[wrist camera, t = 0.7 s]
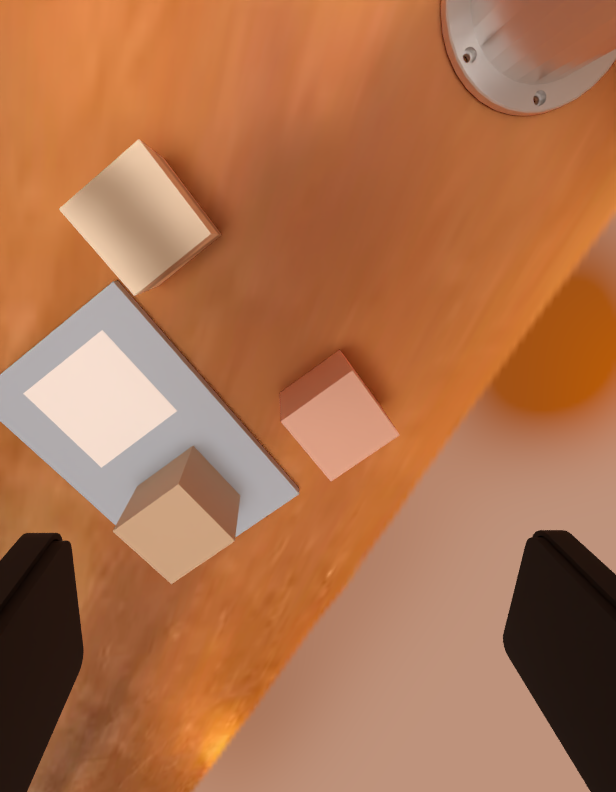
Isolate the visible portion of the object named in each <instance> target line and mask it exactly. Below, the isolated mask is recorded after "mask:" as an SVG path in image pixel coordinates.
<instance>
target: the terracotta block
mask: <svg viewBox="0 0 616 792" xmlns="http://www.w3.org/2000/svg"><path fill="white" fill-rule="evenodd" d="M279 394H280V415H281V422H282V424H283V425H284V426H285V427H286V428H287V430H288V431H289V432H290V433H291V434H292V436H293V437H294V438H295V439H296V440H297V442H298V443H299V444H300V445H301V446H302V448H303V449H304V450H305V451H306V452H307V454H308V455H309V456H310V457H311V458H312V460H313V461H314V462H315V463H316V464H317V465H318V467H319V468H320V469H321V470H322V471H323V473H324V474H325V475H326V476H327V477H328V479H329V480H330V481H332V480H334V479H335V478H337V477H338V476H340V475H341V474H343V473H344V472H346V471H347V470H349V469H350V468H352V467H353V466H355V465H356V464H358V463H359V462H361V461H362V460H364V459H365V458H366V457H368V456H369V455H371V454H372V453H374V452H375V451H377V450H378V449H380V448H381V447H383V446H384V445H386V444H387V443H389V442H390V441H392V440H393V439H395V438H396V437H398V436H399V433H398V432H397V430H396V429H395V427H394V425H393V424H392V422H391V421H390V419H389V418H388V416H387V415H386V413H385V412H384V410H383V409H382V407H381V405H380V404H379V403H378V401H377V400H376V399H375V397H374V396H373V394H372V393H371V392H370V390H369V389H368V388H367V386H366V385H365V383H364V382H363V381H362V379H361V378H360V377H359V375H358V374H357V372H356V371H355V370H354V368H353V367H352V366H351V364H350V363H349V361H348V360H347V359H346V357H345V356H344V355H343V353H342V352H341V350H338V351H337V352H335V353H334V354H333V355H331V356H330V357H329V358H327V359H326V360H324V361H323V362H322V363H320V364H319V365H318V366H316V367H315V368H313V369H312V370H311V371H309V372H308V373H307V374H305V375H304V376H302V377H301V378H300V379H298V380H297V381H296V382H294V383H293V384H291V385H290V386H289V387H287V388H286V389H285V390H283V391H282V392H280V393H279Z"/></svg>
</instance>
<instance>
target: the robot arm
mask: <svg viewBox="0 0 616 792" xmlns="http://www.w3.org/2000/svg"><path fill="white" fill-rule="evenodd" d="M441 21H442V34H443V38H444V42H445V46H446V50H447V54H448V57H449V59H450V61H451V63H452V66H453V68H454V70H455V73H456V74H457V76H458V77H459V79H460V80H461V81H462V83H463V84H464V86H465V87H466V89H467V90H468V91H469V92H470V93H471V94H473V95H474V96H475V97H476V98H477V99H478V100H479V101H480V102H482V103H483V104H485V105H487V106H489V107H490V108H492V109H494V110H496V111H499V112H503V113H506V114H509V115H520V116H530V115H536V114H542V113H546V112H549V111H551V110H554V109H556V108H559V107H562V106H563V105H565V104H567V103H569V102H571V101H573V100H575V99H577V98H578V97H580V96H581V95H582V94H584V93H585V92H586V91H588V90H589V89H590V88H592V87H593V86H594V85H595V84H596V83H597V82H598V81H599V80H600V79H601V78H602V77H603V76H604V75H605V73H606V72H607V71H608V70H609V69H610V67H611V66H612V64H613V63H614V62H615V60H616V0H441ZM463 56H465V57H466V58H467V63H466V62H465V61H464V59H463ZM533 98H534V99H535V103H534V101H533ZM503 643H504V647H505V651H506V653H507V655H508V657H509V658H510V660H511V662H512V663H513V665H514V667H515V668H516V670H517V672H518V673H519V675H520V676H521V678H522V680H523V681H524V683H525V685H526V686H527V688H528V690H529V691H530V693H531V694H532V696H533V698H534V699H535V701H536V703H537V704H538V706H539V708H540V709H541V711H542V712H543V714H544V716H545V717H546V719H547V721H548V722H549V724H550V726H551V727H552V729H553V731H554V732H555V734H556V736H557V737H558V739H559V740H560V742H561V744H562V745H563V747H564V749H565V750H566V752H567V754H568V755H569V757H570V759H571V760H572V762H573V763H574V765H575V767H576V768H577V770H578V772H579V773H580V775H581V776H582V778H583V780H584V781H585V783H586V784H587V786H588V788H589V790H590V791H591V792H616V575H615V574H614V573H613V572H612V571H611V570H610V569H609V568H608V567H607V566H606V565H604V564H603V563H602V562H601V561H600V560H599V559H598V558H597V557H596V556H595V555H594V554H592V553H591V552H590V551H589V550H588V549H587V548H586V547H585V546H584V545H583V544H581V543H580V542H579V541H578V540H577V539H576V538H575V537H574V536H573V535H572V534H570V533H569V532H567V531H563V530H545V531H544V530H540V531H537V532H535V534H534V535H533V537H532V538H529V539H528V540H527V542H526V546H525V549H524V553H523V557H522V561H521V565H520V570H519V574H518V577H517V581H516V585H515V589H514V594H513V598H512V602H511V606H510V610H509V614H508V618H507V622H506V626H505V630H504V634H503ZM82 660H83V641H82V632H81V624H80V615H79V607H78V598H77V590H76V581H75V573H74V564H73V556H72V547H71V544H70V542H69V541H62V537H61V536H60V534H58V533H26V534H23V535H22V536H21V537H20V538H19V539H18V541H17V542H16V543H15V544H14V545H13V546H12V548H11V549H10V550H9V551H8V552H7V553H6V555H5V556H4V557H3V558H2V559H1V561H0V792H27V790H28V788H29V786H30V783H31V781H32V779H33V776H34V774H35V772H36V770H37V767H38V765H39V763H40V760H41V758H42V756H43V753H44V751H45V749H46V747H47V744H48V742H49V740H50V737H51V735H52V733H53V731H54V728H55V726H56V724H57V721H58V719H59V717H60V715H61V712H62V710H63V708H64V705H65V703H66V701H67V699H68V696H69V694H70V692H71V689H72V687H73V685H74V682H75V680H76V678H77V676H78V673H79V671H80V668H81V664H82Z"/></svg>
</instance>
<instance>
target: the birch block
mask: <svg viewBox="0 0 616 792" xmlns="http://www.w3.org/2000/svg"><path fill="white" fill-rule="evenodd" d="M59 210H60V211H61V212H62V213H63V214H64V216H65V217H66V218H67V219H68V220H69V221H70V222H71V224H72V225H73V226H74V227H75V228H76V229H77V230H78V232H79V233H80V234H81V235H82V236H83V237H84V239H85V240H86V241H87V242H88V243H89V244H90V245H91V247H92V248H93V249H94V250H95V251H96V252H97V253H98V255H99V256H100V257H101V258H102V259H103V260H104V262H105V263H106V264H107V265H108V266H109V267H110V268H111V270H112V271H113V272H114V273H115V274H116V275H117V276H118V278H119V279H120V280H121V281H122V282H123V283H124V285H125V286H126V287H127V288H128V289H129V290H130V291H131V293H132V294H133V295H134V296H135V295H138V294H140V293H143V292H145V291H148V290H150V289H153V288H155V287H158V286H159V285H160V284H162V283H163V282H164V281H165V280H167V279H168V278H169V277H170V276H171V275H173V274H174V273H175V272H176V271H178V270H179V269H180V268H181V267H183V266H184V265H185V264H186V263H188V262H189V261H190V260H191V259H193V258H194V257H195V256H196V255H198V254H199V253H200V252H201V251H202V250H204V249H205V248H206V247H207V246H209V245H210V244H211V243H212V242H214V241H215V240H216V239H217V238H219V237H220V236H221V235H222V234H221V233H220V232H219V230H218V229H217V228H216V227H215V225H214V224H213V223H212V221H211V220H210V219H209V217H208V216H207V215H206V213H205V212H204V211H203V209H202V208H201V207H200V205H199V204H198V203H197V201H196V200H195V199H194V197H193V196H192V195H191V193H190V192H189V191H188V189H187V188H186V187H185V185H184V184H183V183H182V181H181V180H180V179H179V178H178V176H177V175H176V174H175V172H174V171H173V170H172V168H171V167H170V166H169V164H168V163H167V162H166V160H165V159H164V158H163V157H162V156H160V155H159V154H158V153H157V152H155V151H154V150H153V149H151V148H150V147H149V146H147V145H146V144H145V143H143V142H142V141H141V140H139V139H138V140H137V141H136V142H135V143H134V144H133V145H132V146H130V147H129V148H128V149H127V150H126V151H125V152H123V153H122V154H121V155H120V156H119V157H118V158H117V159H115V160H114V161H113V162H112V163H111V164H110V165H109V166H107V167H106V168H105V169H104V170H103V171H102V172H101V173H99V174H98V175H97V176H96V177H95V178H94V179H93V180H91V181H90V182H89V183H88V184H87V185H86V186H85V187H83V188H82V189H81V190H80V191H79V192H78V193H77V194H75V195H74V196H73V197H72V198H71V199H70V200H69V201H67V202H66V203H65V204H64V205H63V206H62V207H61V208H59Z"/></svg>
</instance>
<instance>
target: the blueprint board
mask: <svg viewBox="0 0 616 792" xmlns="http://www.w3.org/2000/svg"><path fill="white" fill-rule="evenodd" d="M0 421H1V422H2V423H3V424H4V425H5V426H6V427H7V428H9V429H10V430H11V431H12V432H13V433H14V434H15V435H16V436H17V437H19V438H20V439H21V440H22V441H23V442H24V443H25V444H26V445H27V446H28V447H30V448H31V449H32V450H33V451H34V452H35V453H36V454H37V455H38V456H40V457H41V458H42V459H43V460H44V461H45V462H46V463H47V464H48V465H49V466H51V467H52V468H53V469H54V470H55V471H56V472H57V473H58V474H59V475H61V476H62V477H63V478H64V479H65V480H66V481H67V482H68V483H69V484H70V485H72V486H73V487H74V488H75V489H76V490H77V491H78V492H79V493H80V494H82V495H83V496H84V497H85V498H86V499H87V500H88V501H89V502H90V503H91V504H93V505H94V506H95V507H96V508H97V509H98V510H99V511H100V512H101V513H103V514H104V515H105V516H106V517H107V518H108V519H109V520H110V521H111V522H112V523H114V524H115V525H116V526H115V528H114V530H113V532H114V533H115V534H116V535H117V536H118V537H120V538H121V539H122V540H123V541H124V542H125V543H126V544H127V545H128V546H130V547H131V548H132V549H133V550H134V551H135V552H136V553H137V554H138V555H140V556H141V557H142V558H143V559H144V560H145V561H146V562H147V563H149V564H150V565H151V566H152V567H153V568H154V569H155V570H156V571H157V572H159V573H160V574H161V575H162V576H163V577H164V578H165V579H166V580H167V581H169V582H170V583H171V584H172V583H174V582H175V581H177V580H178V579H180V578H181V577H183V576H184V575H186V574H187V573H188V572H190V571H191V570H193V569H194V568H196V567H197V566H199V565H200V564H202V563H203V562H205V561H206V560H208V559H209V558H211V557H212V556H214V555H215V554H216V553H218V552H219V551H221V550H222V549H224V548H225V547H227V546H228V545H230V544H231V543H233V542H234V541H235V537H237V536H238V535H240V534H241V533H242V532H244V531H245V530H247V529H248V528H250V527H251V526H253V525H254V524H256V523H257V522H259V521H260V520H262V519H263V518H265V517H266V516H267V515H269V514H270V513H272V512H273V511H275V510H276V509H278V508H279V507H281V506H282V505H284V504H285V503H287V502H288V501H290V500H291V499H292V498H294V497H295V496H297V495H298V494H299V488H298V486H297V485H296V484H295V483H294V482H293V481H292V480H291V478H290V477H289V476H288V475H287V474H286V473H285V472H284V470H283V469H282V468H281V467H280V466H279V465H278V464H277V462H276V461H275V460H274V459H273V458H272V457H271V456H270V454H269V453H268V452H267V451H266V450H265V449H264V448H263V446H262V445H261V444H260V443H259V442H258V441H257V439H256V438H255V437H254V436H253V435H252V434H251V433H250V431H249V430H248V429H247V428H246V427H245V426H244V425H243V423H242V422H241V421H240V420H239V419H238V418H237V417H236V415H235V414H234V413H233V412H232V411H231V410H230V409H229V407H228V406H227V405H226V404H225V403H224V402H223V401H222V399H221V398H220V397H219V396H218V395H217V394H216V393H215V391H214V390H213V389H212V388H211V387H210V386H209V384H208V383H207V382H206V381H205V380H204V379H203V378H202V376H201V375H200V374H199V373H198V372H197V371H196V370H195V368H194V367H193V366H192V365H191V364H190V363H189V362H188V360H187V359H186V358H185V357H184V356H183V355H182V354H181V352H180V351H179V350H178V349H177V348H176V347H175V346H174V344H173V343H172V342H171V341H170V340H169V339H168V338H167V336H166V335H165V334H164V333H163V332H162V331H161V329H160V328H159V327H158V326H157V325H156V324H155V323H154V321H153V320H152V319H151V318H150V317H149V316H148V315H147V313H146V312H145V311H144V310H143V309H142V308H141V307H140V305H139V304H138V303H137V302H136V301H135V300H134V299H133V297H132V296H131V295H130V294H129V293H128V292H127V291H126V289H125V288H124V287H123V286H122V285H121V284H120V283H119V281H114V282H112V283H111V284H110V285H108V286H107V287H106V288H105V289H104V290H102V291H101V292H100V293H99V294H98V295H96V296H95V297H94V298H93V299H91V300H90V301H89V302H88V303H87V304H85V305H84V306H83V307H82V308H81V309H79V310H78V311H77V312H76V313H74V314H73V315H72V316H71V317H70V318H68V319H67V320H66V321H65V322H64V323H62V324H61V325H60V326H59V327H57V328H56V329H55V330H54V331H53V332H51V333H50V334H49V335H48V336H47V337H45V338H44V339H43V340H42V341H40V342H39V343H38V344H37V345H36V346H34V347H33V348H32V349H31V350H29V351H28V352H27V353H26V354H25V355H23V356H22V357H21V358H20V359H19V360H17V361H16V362H15V363H14V364H12V365H11V366H10V367H9V368H8V369H6V370H5V371H4V372H3V373H2V374H0Z"/></svg>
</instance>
